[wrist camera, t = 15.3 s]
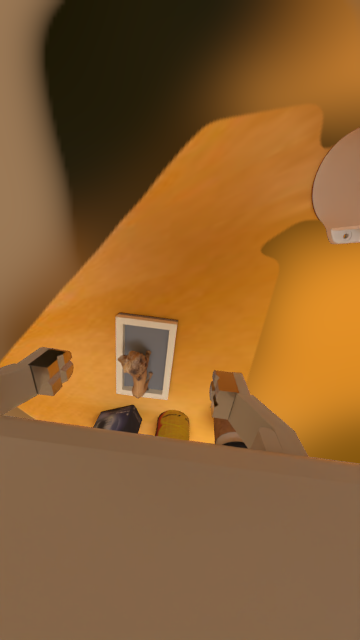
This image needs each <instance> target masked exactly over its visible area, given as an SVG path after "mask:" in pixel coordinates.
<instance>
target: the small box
mask: <svg viewBox="0 0 360 640" xmlns="http://www.w3.org/2000/svg"><path fill="white" fill-rule="evenodd" d="M141 421H142V419H141V417H140V415H139V413H138V412H137V409H136V408H135V406H134V405H131V406H126V407H122V408H117V409H113V410H108V411H103V412H101V413H100V415H99V417H98V419H97V421H96V423H95V425H94V427H93V428H100V429H107V430H115V431H122V432H129V433H137V434H138V431H139V428H140V424H141Z"/></svg>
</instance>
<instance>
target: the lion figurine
mask: <svg viewBox="0 0 360 640" xmlns="http://www.w3.org/2000/svg"><path fill="white" fill-rule="evenodd" d="M145 355H146V356H145ZM145 355H143V353H139V352H135V351H130V352H129V354H128V355H125V354H124V355H121V356H120V357H119V358H118V359H117V360H118V361H119V362H120V363H121V365H122V367H123V372H124V373H128V374H131V376H133V382H134V385H133V388H132V394H133V396H135V397H136V398H139V397H142V396H143V395H144V394H145V392H146V390H148V388H147V387H148V383H149V381H150V378H151V377H152V375H153V373H152V372H149V373H148V377H147V370H146V369H147V367H148V362H149V356H150V355H151V351H149V350H148V351H146V354H145ZM146 378H147V379H146Z"/></svg>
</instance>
